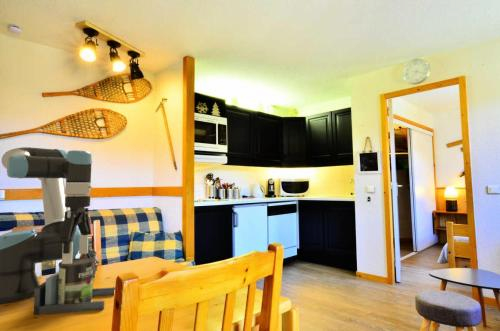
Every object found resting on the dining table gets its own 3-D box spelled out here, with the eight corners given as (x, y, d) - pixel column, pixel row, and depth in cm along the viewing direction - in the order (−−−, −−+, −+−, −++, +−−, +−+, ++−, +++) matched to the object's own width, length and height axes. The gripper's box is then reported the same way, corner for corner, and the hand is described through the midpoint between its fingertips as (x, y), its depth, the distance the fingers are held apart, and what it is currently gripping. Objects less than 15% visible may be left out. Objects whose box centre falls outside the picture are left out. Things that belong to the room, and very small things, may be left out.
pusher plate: (44, 311, 93) (46, 278, 93) (60, 298, 103) (61, 269, 104) (50, 311, 93) (51, 278, 94) (65, 298, 104) (66, 269, 104)
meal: (72, 276, 130) (73, 246, 131) (82, 274, 134) (83, 245, 135) (88, 283, 121) (88, 250, 122) (98, 280, 124) (99, 249, 125)
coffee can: (99, 299, 103) (100, 258, 104) (76, 311, 93) (78, 265, 94) (74, 297, 105) (75, 257, 106) (49, 309, 95) (50, 264, 96)
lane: (33, 315, 91) (34, 288, 91) (55, 298, 104) (55, 275, 105) (103, 309, 94) (103, 284, 95) (115, 294, 108) (115, 271, 108)
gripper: (75, 196, 90) (72, 267, 89) (101, 194, 115) (99, 249, 113) (48, 197, 89) (45, 269, 88) (80, 194, 113) (78, 250, 112)
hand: (75, 258), depth 100 cm, fingers open, 13 cm apart
